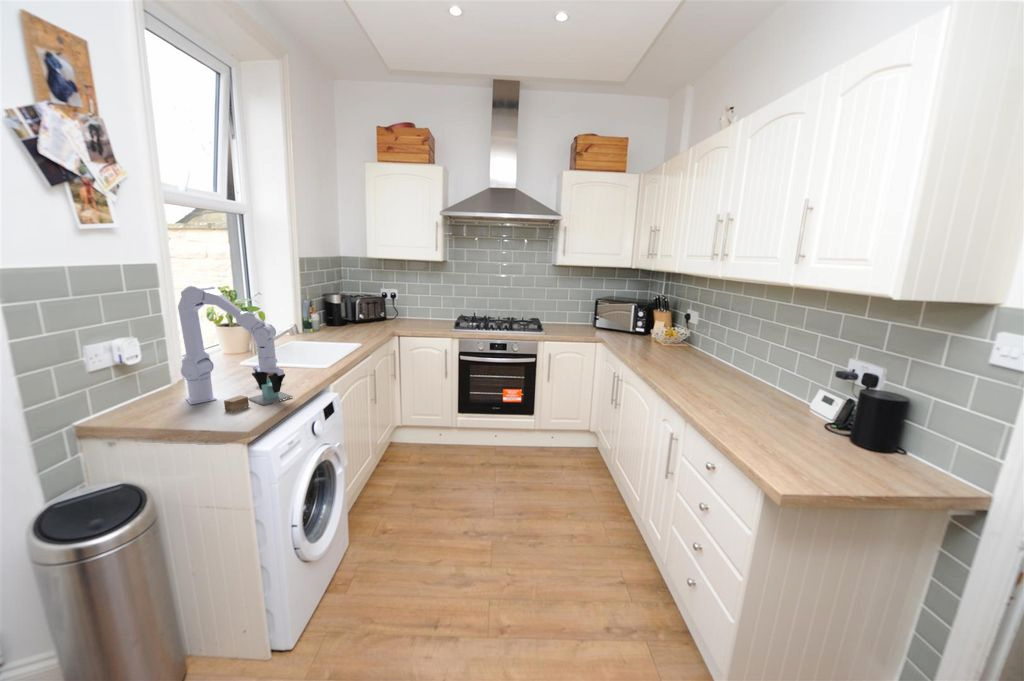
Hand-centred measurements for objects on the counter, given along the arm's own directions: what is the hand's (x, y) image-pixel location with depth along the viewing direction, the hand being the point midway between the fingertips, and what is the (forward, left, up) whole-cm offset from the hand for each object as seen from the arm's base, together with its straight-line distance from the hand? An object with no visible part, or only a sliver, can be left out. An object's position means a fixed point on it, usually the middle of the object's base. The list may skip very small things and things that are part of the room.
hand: (270, 390), depth 157 cm
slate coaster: (0, 0, -3) cm, 3 cm away
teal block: (0, 0, -3) cm, 3 cm away
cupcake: (-21, +5, -4) cm, 22 cm away
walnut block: (+3, -12, -4) cm, 13 cm away
